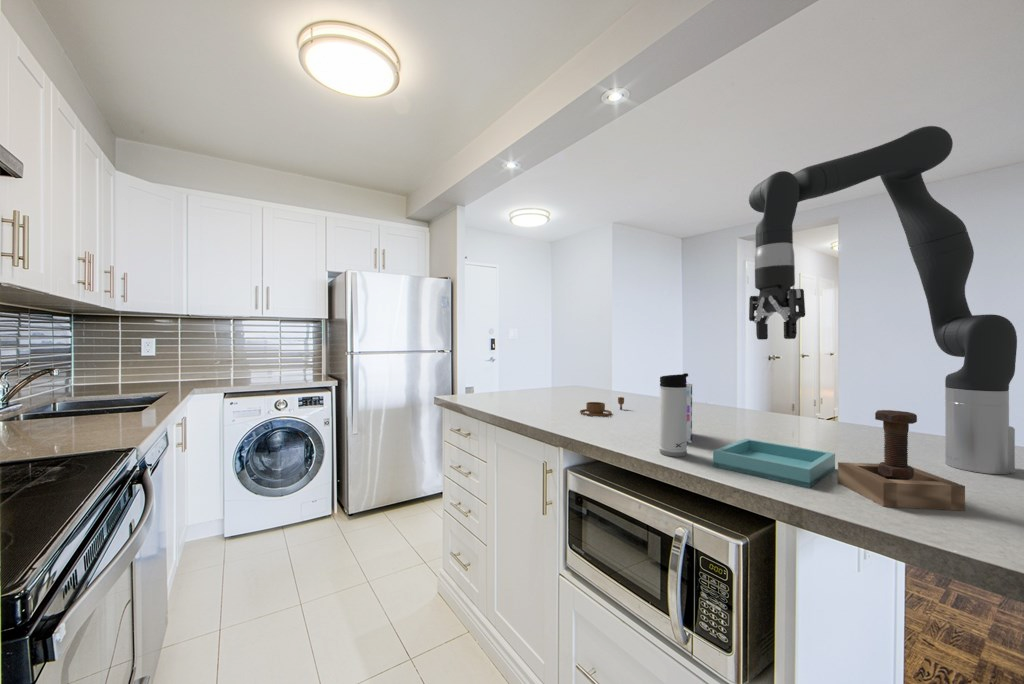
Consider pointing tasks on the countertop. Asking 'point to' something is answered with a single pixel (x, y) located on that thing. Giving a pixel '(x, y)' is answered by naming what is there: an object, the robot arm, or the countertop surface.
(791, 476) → the tray
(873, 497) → the tray
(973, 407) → the robot arm
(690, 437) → the candy box
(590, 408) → the place setting
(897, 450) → the bolt
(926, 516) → the countertop surface
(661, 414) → the travel mug
